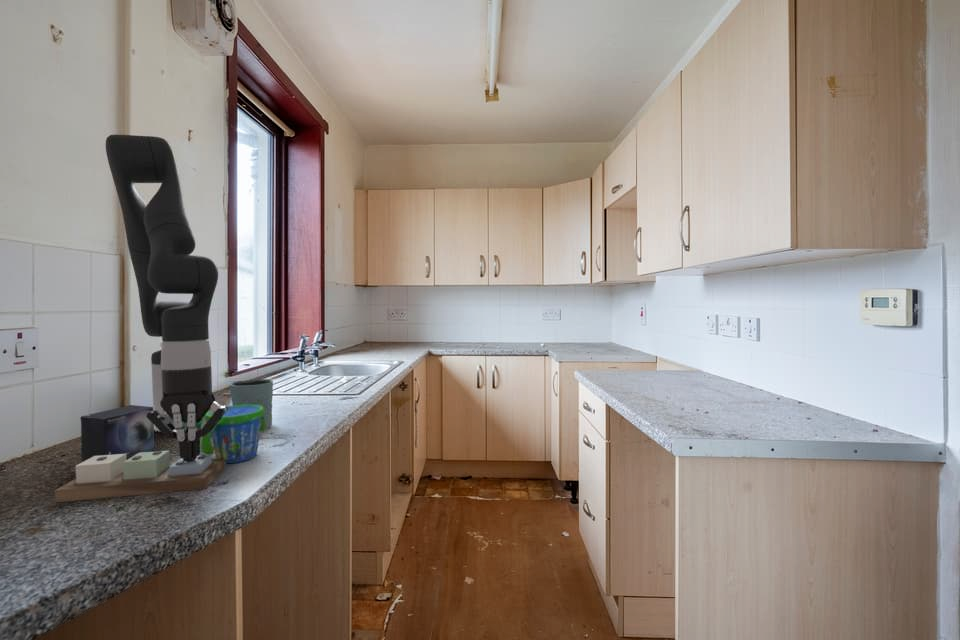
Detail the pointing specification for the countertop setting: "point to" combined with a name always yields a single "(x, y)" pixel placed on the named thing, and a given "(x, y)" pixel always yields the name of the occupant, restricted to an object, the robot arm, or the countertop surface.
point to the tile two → (146, 465)
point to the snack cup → (235, 433)
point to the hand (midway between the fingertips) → (190, 459)
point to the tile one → (100, 468)
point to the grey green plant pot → (254, 395)
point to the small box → (117, 432)
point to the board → (139, 485)
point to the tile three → (191, 466)
